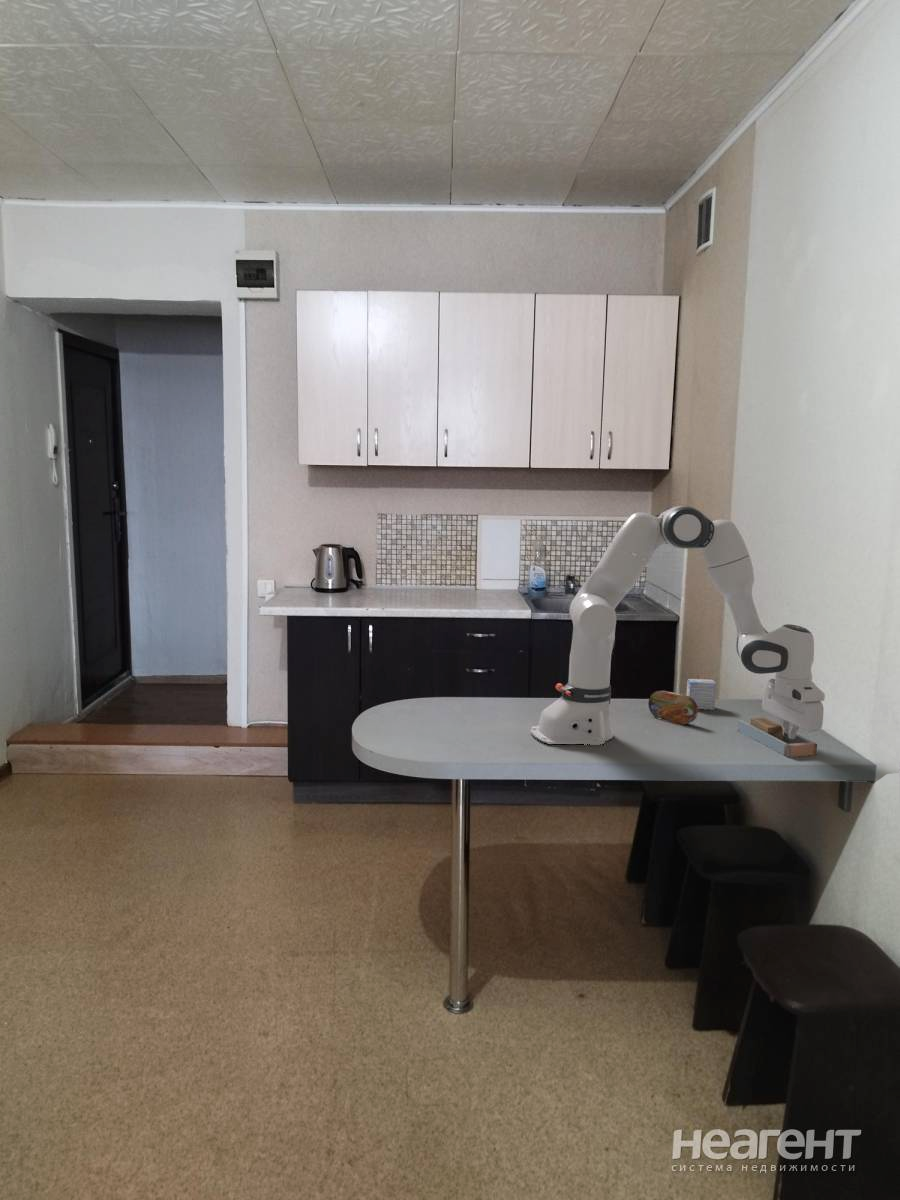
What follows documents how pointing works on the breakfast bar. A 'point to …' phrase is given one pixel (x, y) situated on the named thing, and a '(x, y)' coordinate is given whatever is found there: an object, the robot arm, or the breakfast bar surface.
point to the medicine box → (702, 692)
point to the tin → (673, 707)
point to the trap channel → (794, 749)
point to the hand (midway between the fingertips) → (788, 737)
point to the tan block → (768, 727)
